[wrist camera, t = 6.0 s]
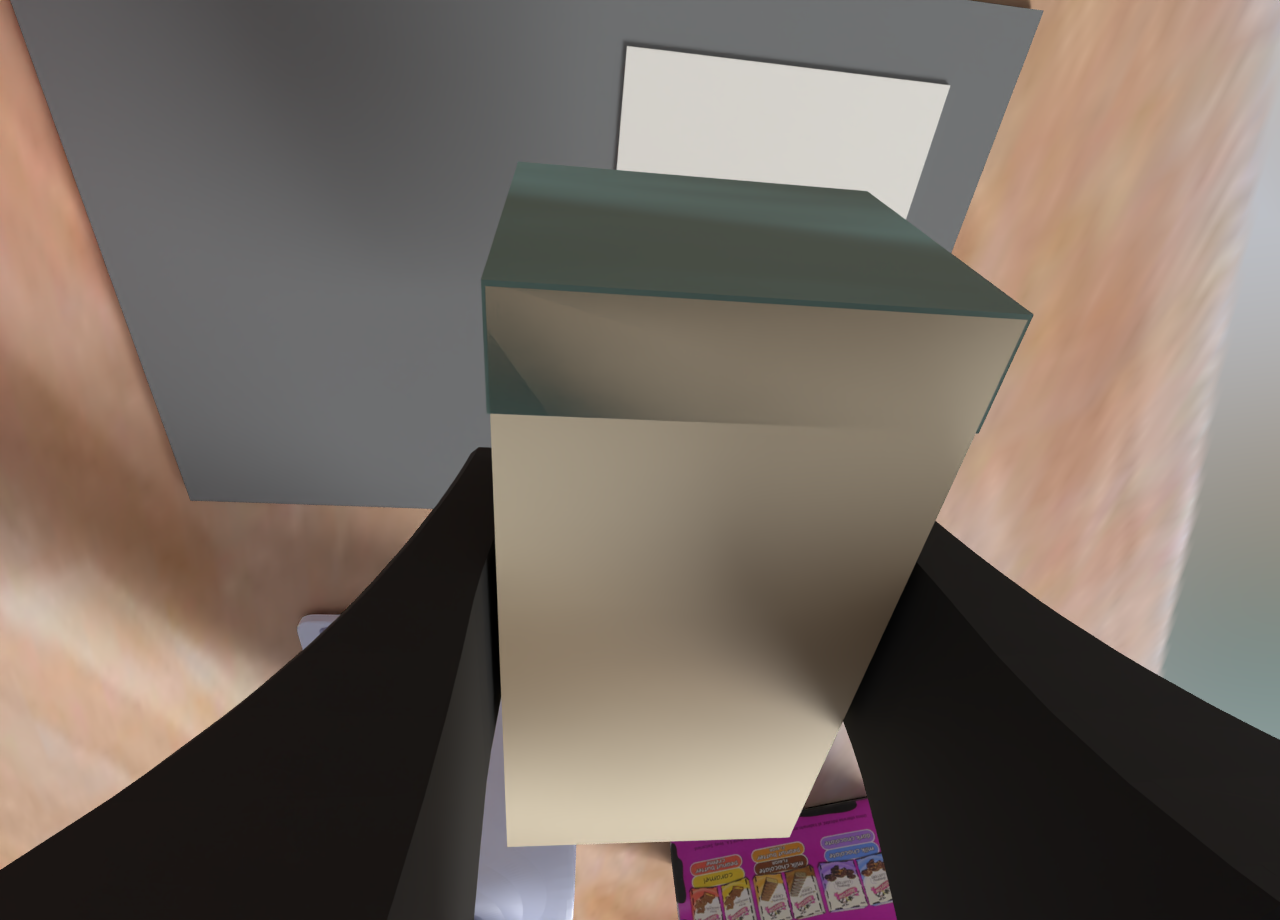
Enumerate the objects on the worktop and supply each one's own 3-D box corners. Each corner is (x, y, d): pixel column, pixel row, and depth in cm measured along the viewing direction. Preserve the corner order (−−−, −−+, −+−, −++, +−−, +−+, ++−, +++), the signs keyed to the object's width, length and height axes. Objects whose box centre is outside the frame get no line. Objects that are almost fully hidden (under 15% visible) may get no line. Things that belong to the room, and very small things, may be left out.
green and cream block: (741, 639, 14) (791, 836, 11) (522, 639, 14) (505, 847, 10) (867, 191, 9) (1033, 314, 6) (517, 161, 8) (480, 278, 5)
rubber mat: (1032, 9, 14) (1046, 10, 14) (844, 515, 22) (849, 525, 22) (-24, -137, 12) (-45, -141, 11) (196, 491, 20) (189, 502, 19)
